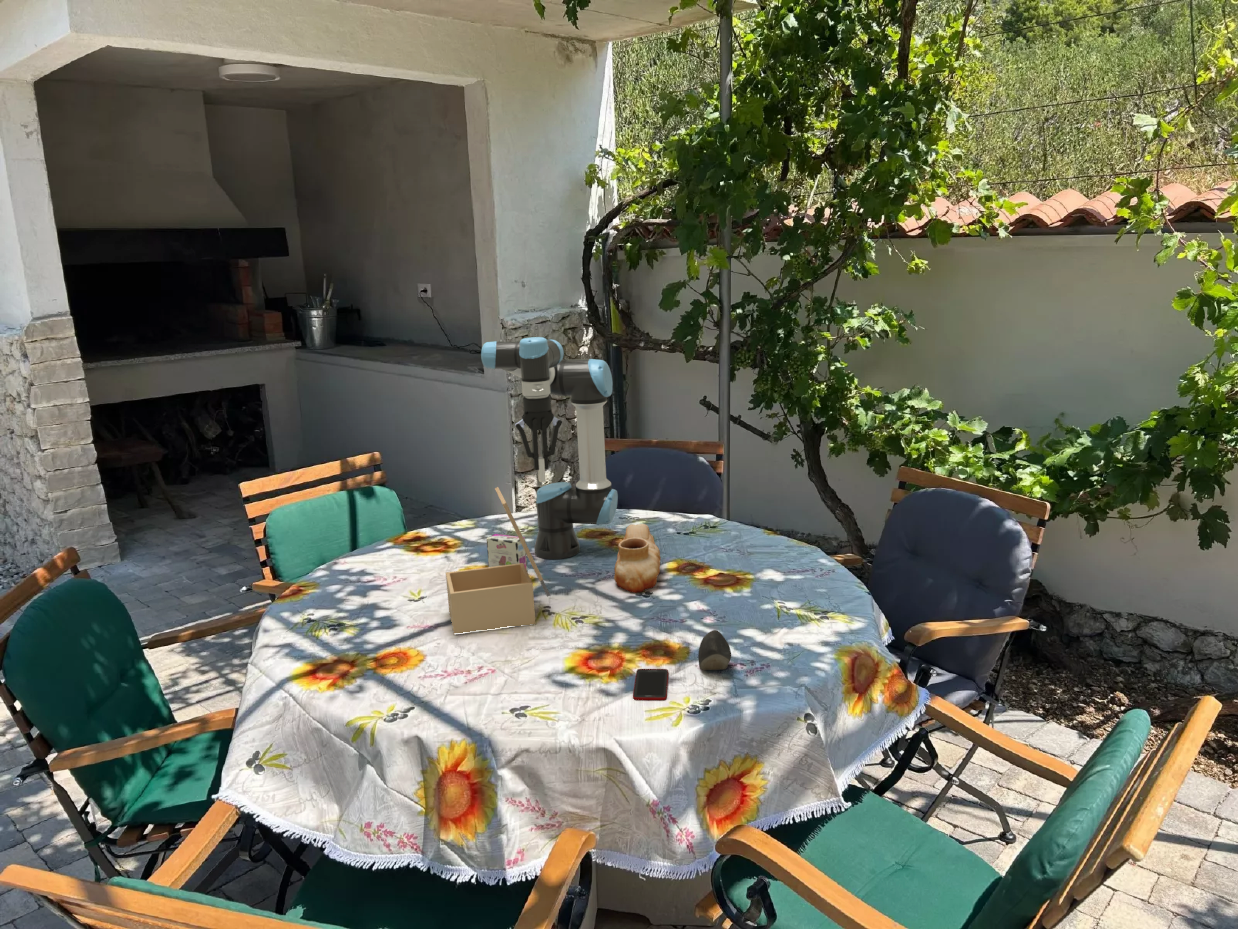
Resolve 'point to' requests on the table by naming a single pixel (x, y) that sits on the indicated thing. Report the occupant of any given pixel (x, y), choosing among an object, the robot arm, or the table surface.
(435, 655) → the table surface
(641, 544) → the ceramic vessel
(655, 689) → the cell phone
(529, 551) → the lid
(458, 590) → the carton
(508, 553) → the candy bar box
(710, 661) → the stone
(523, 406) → the robot arm
